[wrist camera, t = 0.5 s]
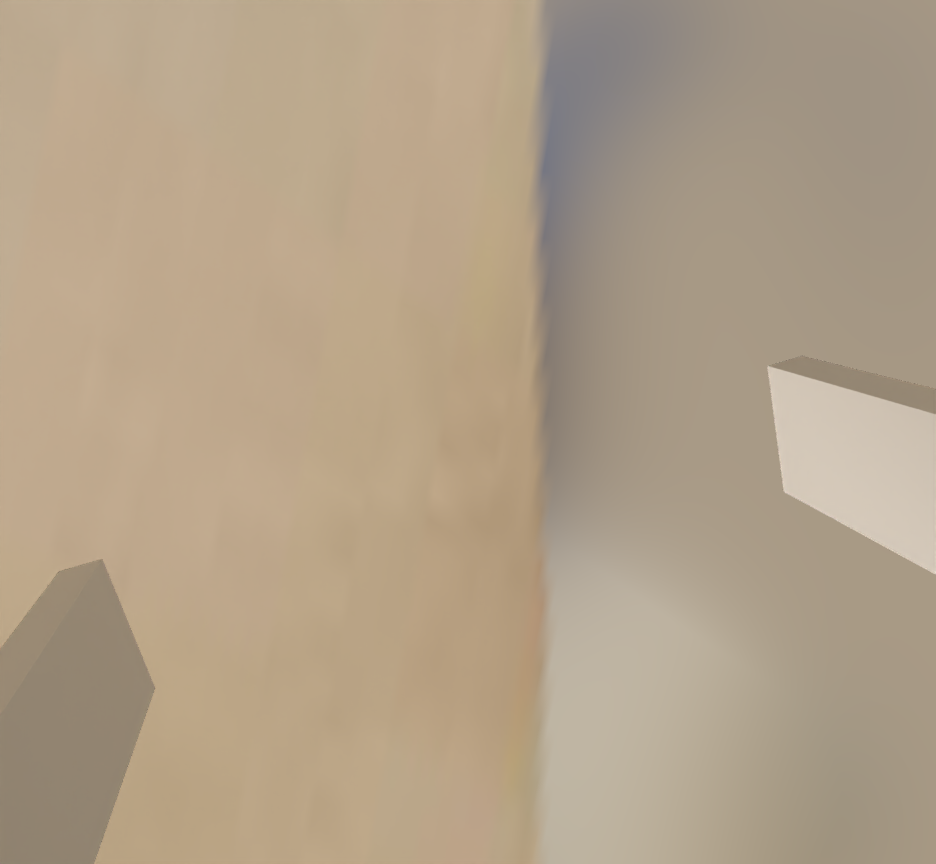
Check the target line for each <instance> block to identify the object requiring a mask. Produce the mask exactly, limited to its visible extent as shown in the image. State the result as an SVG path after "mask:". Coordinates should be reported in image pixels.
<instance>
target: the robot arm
mask: <svg viewBox="0 0 936 864" xmlns="http://www.w3.org/2000/svg"><path fill="white" fill-rule="evenodd" d="M767 367H768V374H769V382H770V390H771V397H772V405H773V412H774V419H775V428H776V435H777V443H778V450H779V458H780V465H781V473H782V481H783V489H784V492H785V493H787V494H789V495H791V496H793V497H795V498H796V499H798V500H800V501H802V502H804V503H806V504H807V505H809V506H811V507H813V508H815V509H816V510H818V511H820V512H822V513H824V514H826V515H827V516H829V517H831V518H833V519H835V520H837V521H838V522H840V523H842V524H844V525H846V526H848V527H849V528H851V529H853V530H855V531H857V532H859V533H860V534H862V535H864V536H866V537H868V538H870V539H872V540H874V541H875V542H877V543H879V544H881V545H883V546H884V547H886V548H888V549H890V550H892V551H893V552H895V553H897V554H899V555H901V556H903V557H904V558H906V559H908V560H910V561H912V562H914V563H916V564H917V565H919V566H921V567H923V568H925V569H926V570H929V571H930V572H932V573H934V574H936V389H934V388H930V387H926V386H922V385H918V384H914V383H910V382H906V381H902V380H898V379H893V378H890V377H886V376H882V375H878V374H873V373H869V372H866V371H862V370H857V369H853V368H849V367H845V366H841V365H837V364H833V363H829V362H825V361H821V360H817V359H813V358H809V357H805V356H800V357H796V358H793V359H789V360H786V361H783V362H779V363H776V364H772V365H769V366H767ZM154 690H155V687H154V684H153V682H152V679H151V677H150V674H149V672H148V669H147V667H146V665H145V662H144V660H143V657H142V655H141V652H140V650H139V647H138V645H137V643H136V640H135V638H134V635H133V633H132V630H131V628H130V625H129V623H128V620H127V618H126V616H125V613H124V611H123V608H122V606H121V603H120V601H119V598H118V596H117V594H116V591H115V589H114V586H113V584H112V581H111V579H110V576H109V574H108V572H107V569H106V567H105V564H104V562H103V559H100V560H97V561H93V562H90V563H86V564H83V565H79V566H76V567H73V568H69V569H66V570H62V571H59V572H58V573H57V575H56V576H55V577H54V579H53V580H52V581H51V583H50V584H49V585H48V587H47V588H46V589H45V590H44V592H43V593H42V594H41V596H40V597H39V598H38V600H37V601H36V602H35V604H34V605H33V606H32V608H31V609H30V610H29V612H28V613H27V614H26V616H25V617H24V618H23V620H22V621H21V622H20V624H19V625H18V626H17V628H16V629H15V630H14V632H13V633H12V634H11V636H10V637H9V638H8V639H7V641H6V642H5V643H4V645H3V646H2V647H1V649H0V864H94V862H95V859H96V856H97V854H98V851H99V848H100V845H101V842H102V839H103V836H104V833H105V831H106V828H107V825H108V822H109V819H110V816H111V813H112V810H113V808H114V805H115V802H116V799H117V796H118V793H119V790H120V787H121V785H122V782H123V779H124V776H125V773H126V770H127V767H128V765H129V762H130V759H131V756H132V753H133V750H134V747H135V744H136V742H137V739H138V736H139V733H140V730H141V727H142V724H143V721H144V719H145V716H146V713H147V710H148V707H149V704H150V701H151V698H152V696H153V693H154Z"/></svg>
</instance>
